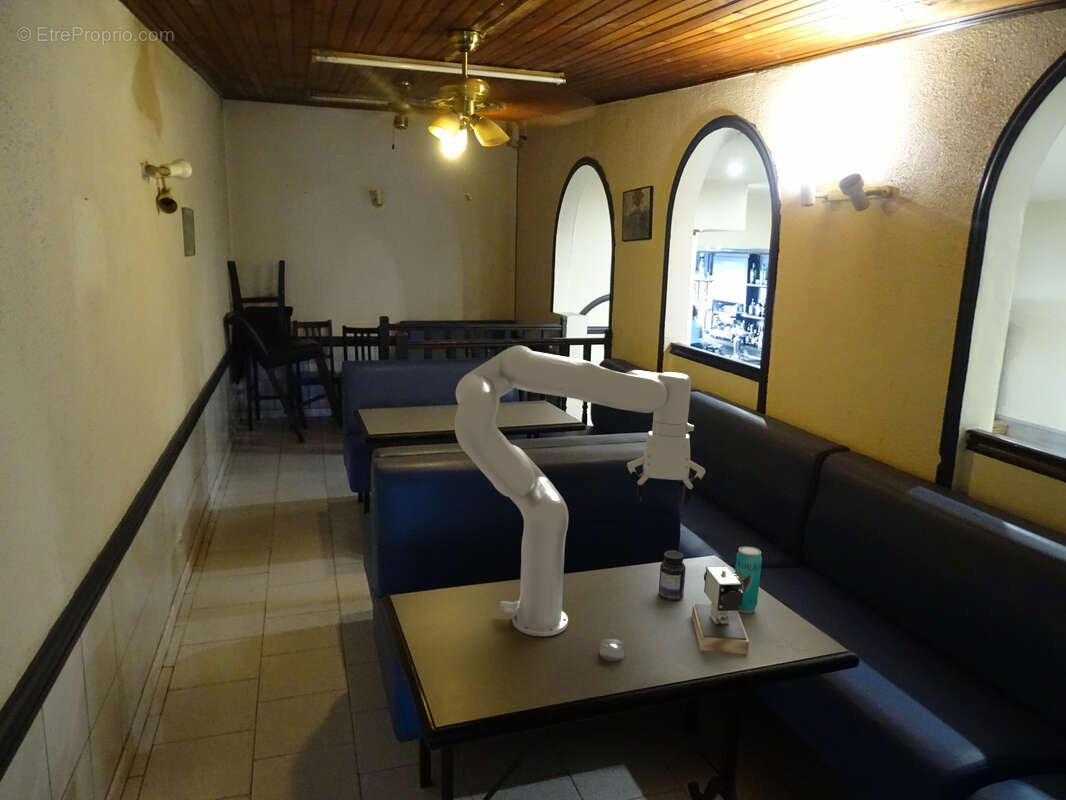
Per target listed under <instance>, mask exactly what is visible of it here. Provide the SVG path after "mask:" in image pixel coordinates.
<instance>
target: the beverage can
mask: <svg viewBox="0 0 1066 800" xmlns="http://www.w3.org/2000/svg"><path fill="white" fill-rule="evenodd" d="M762 560H763V557H762V551H761V550H760V549H759V548H757V547H753V546H747V545H745V546H740V547H739V548H738V552H737V553H736V560H735V569H734V574H736V575H737V577H739V580H738V581H739V582H740V583H741V584H742V586H741V590H742V592H743V603H742V606H739V611H738V613H741V612H742V613H741V614H752V613H753V612H754V611H755V609H756V608H757V606H758V599H759V589H760V580H761V571H762Z"/></svg>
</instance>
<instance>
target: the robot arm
mask: <svg viewBox="0 0 1066 800" xmlns="http://www.w3.org/2000/svg"><path fill="white" fill-rule="evenodd" d="M513 389H517V390H520V391H524V392H530V393H537V394H543V395H550V396H554V397H555V396H557V397H563V398H567V399H574V400H578V401H582V402H585V403H591V404H597V405H600V406H604V407H610V408H612V409H613V408H614V409H618V410H624V411H631V412H636V413H637V412H638V413H643V414H645V413H646V414H649V413H653V417H652V418H653V419H652V420H653V421H652V429H651V430H650V431H648V433H647V437H646V441H645V445H644V453H643V456H641V457H639V458H637V459H634V460H632V461H629V462H627V465H626V467H627V468H628V469H627V470H628V471H629V473H630V475H631V478H632V479H634V480H635V482H636V483H637V492H636V498H639V502H640V503H643V502H645V501H644V499H645V490H646V489H645V488H646V486H645V482H646V481H647V480H648V479H650V478H651V479H660V480H670V481H671V480H672V481H674V480H675V481H682V482H683V483H684V485H683V490H682V500H681V501H682V505H683V506H684V507H686V506H687V505H688V502H691V493H692V489H693V488H694V487H695V486H696V485H697V484H699V483H700V481H701V479H702V478H703V477H704V475H705V473H706V470H705V468H704V467H702V466H701V465H699V464H698V463H696V462H694V461H692V460H691V442H690V435H689V432H694V430H695V426H694V424H690V423H688V421H689V420H688V419H689V410H690V400H691V390H692V379H691V377H690V376H689V375H687V374H685V373H683V372H682V373H681V372H674V371H669V372H668V371H667V372H666V371H665V372H662V373H661V372H652V371H646V370H639V369H634V370H633V369H632V370H629V371H627V372H625V373H624V372H619V371H615V370H612V369H609V368H606V367H604V366H600V365H599V364H596V363H594V362H592V361H588V360H585V359H580V358H575V357H570V356H562V355H557V354H551V353H546V352H540V351H533V350H532V349H531V348H529V347H527V346H524V345H519V344H518V345H514V346H510V347H508V348H507V349H504V350H503V351H501V352H500V353H498V354H497V355H495V356H493V357H492V358H490V359H489V360H487V361H485V362H484V363H482V364H481V365H479V366H478V367H475V368H474V369H472V370H471V371H470V372H468V373H466V374H465V375H464V376H463V377H462V378H461V379H460V380H459V381H458V383H457V385H456V387H455V398H456V402H457V404H458V407H457V411H456V413H455V418H454V419H455V420H454V433H455V436H456V437H455V438H456V440H457V441H458V444H459V446H460V447H461V449H462V450H463V451H464V452H465V454H466V455H467V456H468V458H470V459H471V460H472V462H473V463H474V464H475V466H477V468H478V469H479V470H480V471H481V472H482V474H483V475H484V476H485V477H486V478H487V479H488V481H490V483H491V484H492V485H493V486H494V487H493V488H495V489H496V490H497V491H498V492H499V493H500V494H502V495H503V496H505V497H508V498H510V500H511V501H512V502H513V503H514V504H515V505H516V506H517V508H518V509H519V511H520V513H521V516H522V518H523V533H522V539H521V553H520V556H521V558H520V560H521V563H520V591H519V592H520V593H519V599H518V600H514V602H513V601H505V600H504V601H503V600H501V601H500V605H499V607H500V609H499V610H500V611H501V610H502V611H503V614H504V615H512V618H511V619H512V625H513V627H514V628H515V629H517V630H518V631H519V632H520V633H523V634H525V635H529V636H533V637H534V636H535V637H551V636H554V635H558V634H560V633H562V632H563V631H565V630H566V629H567V628H568V625H569V617H568V615H567V613H565V612H564V611H563V609H562V608H563V588H564V567H565V566H564V565H565V546H566V536H567V531H568V526H569V510H568V506H567V504H566V502H565V500H564V498H563V497H562V495H561V494H560V492H559V491H558V490H557V489H556V487H555V486H554V484H553V483H552V482H551V481H550V479H549V478H548V477H547V476H546V475H545V474H544V472H542V470H541V469H540V468H539V467H538V466H537V464H535V463H534V462H533V460H532V459H531V458H530V456H528V455H527V454H526V452H524V451H525V450H523V449H521V447H518V446H517V445H514V444H511V442H510V441H509V440H508V439H507V437H506V436H505V435H504V434H503V433H502V432H501V431H500V430H499V428H498V426H497V423H496V417H497V414H498V411H499V409H500V402H501V401H500V398H501V397H503V396H505V395H506V394H508V393H509V392H510V391H512V390H513ZM641 465H642V472H641V473H640V474H639V473H638V472H637V471H636V469H635V468H636V467H639V466H641ZM690 469H692V470H693V471H695V472H696V474H695V475H694V476H693V477H692V478H690V477H689V476H690Z"/></svg>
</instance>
